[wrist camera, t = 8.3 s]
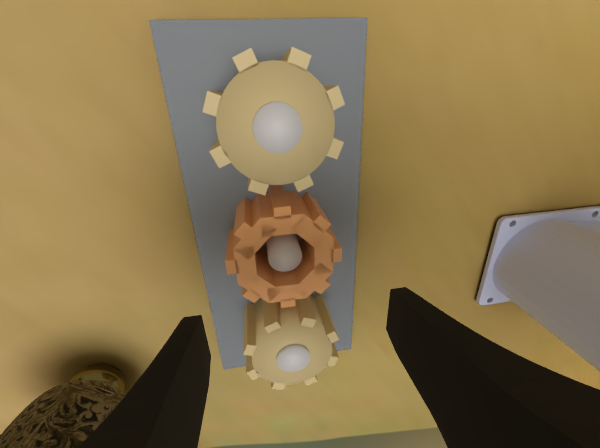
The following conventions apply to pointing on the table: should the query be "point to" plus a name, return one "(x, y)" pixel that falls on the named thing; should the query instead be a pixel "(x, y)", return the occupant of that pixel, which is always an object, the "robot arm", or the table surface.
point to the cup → (67, 411)
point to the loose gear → (272, 222)
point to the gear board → (226, 185)
